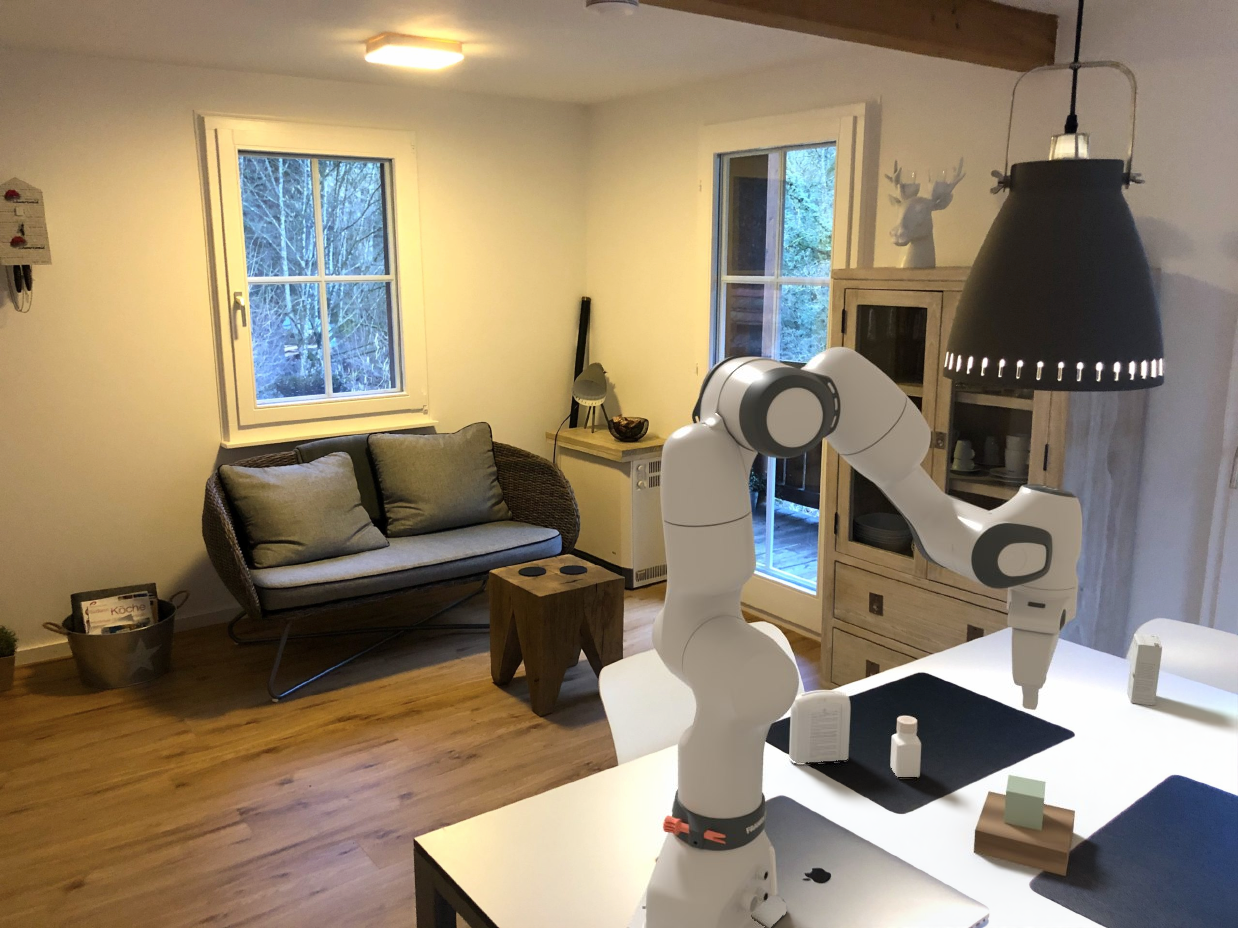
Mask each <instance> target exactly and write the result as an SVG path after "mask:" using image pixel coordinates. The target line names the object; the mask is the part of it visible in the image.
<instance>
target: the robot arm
mask: <svg viewBox="0 0 1238 928" xmlns="http://www.w3.org/2000/svg"><path fill="white" fill-rule="evenodd" d="M696 417H697V418H696ZM691 418H692V422H693V423H690V424H687V425H685V426H682V427H680V428H678V429H676V430H675V431H673V432H672V433H671V434H670V435H669V436H668V437H667V438H666V439H665V442H664V443H663V445H662V453H661V461H660V478H659V479H660V481H659V483H660V485H659V486H660V487H659V491H660V492H659V493H660V496H659V497H660V510H661V520H662V528H663V539H664V549H665V559H666V570H667V571H666V572H667V573H666V575H667V576H666V577H667V579H666V582H667V583H666V591H665V599H664V605H663V607H662V608H661V609H660V610H659V612H658V614H657V615H656V617H655V619H654V622H653V624H652V628H651V639H652V645H653V647H654V649H655V651H656V653H657V655H658V657H659V658H660V660H661V661H662V663H663V664H664V666H665V667H666V668H667V671H668V672H670V673H671V674H672V675H674V676H675V677H676V678H677V679H678V680H680V681H681V682H682V683H684V685H686V686H687V687H689V689H691V692H692V693H693V695H694V700H695V704H696V705H695V713H694V717H693V722H692V724H691V725H690V726H689V727H687V728H686V729H685V730H684V731H683V732H682V733H681V735H680V736H679V739H678V742H677V789H676V791H675V795H674V799H673V802H672V807H671V816H670V815H666V816H665V818H664V819H663V823H662V828H663V829H662V831H664V832H665V833H667V834H666V837H665V839H664V842H663V844H662V847H661V850H660V853H659V855H658V856H657V860H656V862H655V865H654V868H653V870H652V873H651V876H650V879H649V881H648V884H647V886H646V888H645V890H644V892H643V894H642V897H641V898H640V900H639V902H638V905H637V906H636V909H635V910H634V912H633V915H632V917H631V919H630V921H629V923H628V925H627V928H764V927H765V926H762V925H761V924H759V923H758V922H757V921H754V919H752V917H751V914H752V913H754V911H755V910H756V909H757V908H758V907H759V906H760V905H761V904H762V903H763V902H766V901H767V899H768V898H769V897H770V896H772V895H776V894H778V884H777V883H778V881H777V880H778V879H777V863H776V851H775V848H774V845H772V843H771V841H770V839H769V838H768V835H767V833H766V831H765V826H766V817H767V804H766V798H765V794H764V792H763V782H764V781H763V779H764V778H763V776H764V775H763V774H764V756H765V755H764V751H765V745H766V742H767V741H766V740H767V737H768V733H769V730H770V728H771V726H772V724H774V723H775V722H777V721H779V720H780V719H781V718H783V717H784V716H785V715H786V714H787V712H788V711H789V710H791V706H792V704H793V703H794V701H795V698H796V696H797V695H798V691H799V686H800V678H799V672H798V668H797V667H796V664H795V662H794V661H793V660H792V658H791V657H790V656H789V655H788V654H787V652H786V651H785V650H784V649H783V648H782V647H781V646H780V645H779V644H778V642H777V641H775V639H774V638H772V637H771V636H769V635H768V634H766V633H765V632H763V631H761V630H760V629H758V628H757V627H754V626H753V625H752V624H750V623H748V622H747V621H746V619H745V618H744V615H743V612H742V609H741V600H742V592H743V588H744V585H745V584H746V583H747V582H749V581H750V579H751V578H752V577H753V576H754V574H755V571H756V568H757V557H756V556H757V555H756V548H755V536H754V535H755V533H754V523H753V512H752V511H753V510H752V504H751V503H752V502H751V501H752V500H751V493H750V487H749V483H750V475H751V474H750V473H751V470H752V466H753V464H754V461H755V459H756V458H757V455H758V454H761V455H763V456H765V457H769V458H773V459H774V458H775V459H791V458H795V457H799V456H801V455H803V454H806V453H808V452H809V451H811V450H812V449H814V448H815V447H817V446H818V444H819V443H821V442H822V440H824V439H825V440H826V441H827V443H828V444H829V445H830V447H832V448H833V449H834V450H835V451H836V452H837V453H838V455H839V456H840V457H841V458H842V459H843V460H845V462H846V463H847V464H849V465H850V466H851V467H852V468H853V469H854V470H855V471H857V472H858V473H859V474H861V475H862V476H863V477H865V478H867V479H868V480H869V481H870V482H873V483H874V484H875V486H876V487H877V488H878V489H879V490H880V492H881V493H882V494H883V495H884V496H885V497H886V498H887V500H888V501H889V502H890V503H891V505H893V506H894V508H895V509H896V510H897V511H898V512H899V513H900V515H902V517H903V518H904V520H905V522H906V523H907V524H908V525H907V526H908V527H909V531H910V532H911V535H912V539H913V542H914V545H915V547H916V549H917V551H918V552H919V554H920V555H921V556H922V557H923V558H924V559H925V560H926V561H927V562H929V563H932V564H934V565H936V566H938V567H942V568H945V569H946V570H947V569H948V570H950V571H952V572H954V573H956V574H958V575H960V576H962V577H964V578H966V579H969V580H971V581H973V582H975V583H978V584H980V585H982V586H983V587H987V588H992V589H999V590H1001V589H1007V597H1006V598H1007V599H1006V610H1007V612H1008V613H1007V627H1009V628H1011V671H1012V672H1011V673H1012V680H1013V684H1014V685H1016V686H1019V687H1021V691H1022V704H1021V705H1022V707H1023V708H1024V709H1027V710H1032V711H1034V710H1036V709H1037V708H1038V705H1039V704H1038V703H1039V692H1040V691H1039V690H1041V689H1043V687H1044V685H1045V683H1046V681H1047V675H1048V672H1049V669H1050V666H1051V663H1052V660H1053V657H1054V653H1055V651H1056V648H1057V645H1058V642H1059V638H1060V632H1061V631H1062V629H1064V628H1065V627H1066V625H1067V624H1068V623H1069V622H1070V621H1072V620H1074V619H1075V618H1076V617H1077V616H1076V615H1077V613H1076V612H1077V604H1078V590H1079V576H1078V573H1077V565H1078V562H1079V559H1080V556H1081V553H1082V542H1083V541H1082V540H1083V516H1082V515H1083V514H1082V507H1081V503H1080V501H1079V498H1078V497H1077V496H1075V494H1074V493H1072V492H1070V491H1068V490H1064V489H1061V488H1058V487H1053V486H1049V485H1044V484H1037V483H1027V484H1023V485H1021V486H1020V487H1019V490H1018V491H1017V493H1016V494H1015V495H1014V496H1013V497H1012V498H1010V499H1009V500H1008V501H1007V502H1005V503H1003V504H1002V505H1000V506H997V507H996V508H993V509H991V510H988V509H985V508H982V507H980V506H977V505H974V504H971V503H970V502H968V501H966V500H965V499H964V500H963V499H961V498H959V497H957V496H954V495H949V494H947V493H945V492H944V491H942V490H941V489H940V487H939V486H938V485H937V484H936V483H935V482H934V480H933V479H932V478H931V476H930V475H929V474H928V473H927V472H926V470H925V469H924V468H923V467H922V466H921V464H922V462H923V461H924V459H925V458H926V456H927V455H928V451H929V449H930V444H931V439H932V432H931V428H930V426H929V425H928V423H927V421H926V418H925V417H924V416H923V414H922V413H921V411H920V409H918V407H917V405H916V404H915V403H914V402H913V401H912V400H911V399H910V398H909V397H908V394H906V393H905V392H904V391H903V390H902V389H901V388H900V387H899V386H898V385H897V384H896V383H895V382H894V380H892V379H891V378H890V376H889V375H887V374H886V373H885V372H883V371H882V370H881V369H880V368H879V367H877V365H876V364H874V363H872V362H871V361H869V359H867V358H865V356H863V355H862V354H860V353H859V352H857V351H855V350H854V349H852V348H850V347H845V346H835V347H830V348H827V349H824V350H823V351H821V352H819V353H817V354H816V355H814V356H813V357H812V358H810V360H809V361H808V362H806V364H805V365H804V366H802V367H801V368H797V367H794V366H791V365H787V364H784V363H783V362H781V361H778V360H776V359H774V358H768V357H764V356H763V357H761V356H754V355H750V354H738V355H737V354H736V355H732V356H729V357H726V358H723V359H722V360H720V361H718V362H717V363H716V364H714V365H713V366H712V367H711V368H710V369H709V371H708V372H707V373H706V375H705V376H704V378H703V381H702V383H701V387H700V389H699V394H698V398H697V401H696V403H695V405H694V408H693V411H692V413H691ZM697 419H698V421H697Z"/></svg>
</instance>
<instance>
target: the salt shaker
mask: <svg viewBox="0 0 1238 928" xmlns="http://www.w3.org/2000/svg"><path fill="white" fill-rule="evenodd" d="M917 732H918V719H916V717H913V716H911V715H899V716H898V717H897V718H896V733H894V734H892V735H891V742H890V743H891V745H890V763H889V764H890V769H891V768H892V769H891V770H892V772H893V773H895V774H894V775H895V777H896V776H897V777H896V778H898V777H917V778H920V776H921V757H922V756H921V754H922V742H921V740H920V739H919V737H918V736H917Z"/></svg>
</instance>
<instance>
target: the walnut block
mask: <svg viewBox="0 0 1238 928" xmlns="http://www.w3.org/2000/svg"><path fill="white" fill-rule="evenodd" d="M1005 800H1006V794H1003V793H999V792H993V791H991V790H989V791H988V792H987V795H986V798H985V800H984V803H983V806H982V808H981V813H980V814H979V818H978V820H977V823H976V827H975V829H974V841H973V842H974V843H973V853H975V854H978V855H983V856H987V857H990V858H993V859H998V860H1001V861H1006V862H1009V863H1014V864H1017V865H1021V866H1025V867H1030V868H1033V869H1037V870H1040V871H1044V872H1048V873H1051V874H1056V875H1059V876H1064V877H1066V876H1067V870H1068V869H1067V868H1068V864H1069V857H1070V852H1071V846H1072V841H1073V836H1074V828H1075V826H1074V825H1075V817H1076V816H1075V814H1076V811H1075V810H1073V809H1068V808H1064V807H1060V806H1056V805H1051V804H1046V803H1044V809H1043V821H1042V831H1041V830H1036V829H1031V828H1027V827H1022V826H1017V825H1012V824H1007V823H1004V814H1005Z"/></svg>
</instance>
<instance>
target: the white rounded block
mask: <svg viewBox="0 0 1238 928" xmlns="http://www.w3.org/2000/svg"><path fill="white" fill-rule="evenodd" d="M789 721H790V723H789V724H790V725H789V749H788V750H789V755H788V756H789V757H790V758H791V759H792V760H793V761H795V762H796V763H806V762H808V763H809V762H821V761H822V762H823V761H836V760H837V761H838V760H847V759H848V760H849V750H850V748H849V747H850V745H849V744H850V726H851V724H850V723H851V700H850V697H849V696H848V695H847V694H846V693H845V692H842V691H839V690H838V691H837V690H834V689H830V690H829V689H817V690H810V691H805V692H802V693H799V694H797V696H796V698H795V701H794V703H793V704H792V706H791V708H790V720H789ZM789 757H788V758H789ZM848 760H847V761H848Z"/></svg>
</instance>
